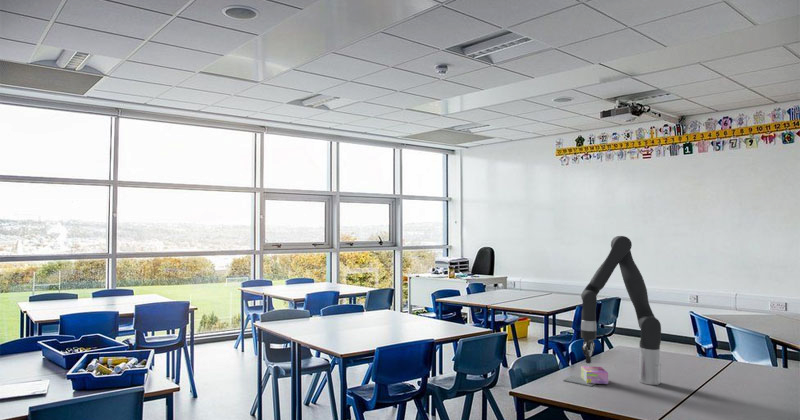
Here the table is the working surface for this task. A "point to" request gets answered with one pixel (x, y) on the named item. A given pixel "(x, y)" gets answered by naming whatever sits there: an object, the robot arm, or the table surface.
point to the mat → (578, 381)
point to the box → (594, 375)
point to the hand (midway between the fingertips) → (588, 362)
